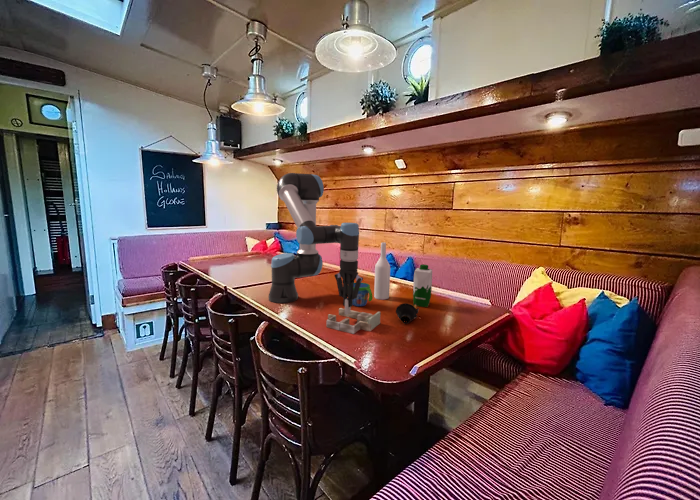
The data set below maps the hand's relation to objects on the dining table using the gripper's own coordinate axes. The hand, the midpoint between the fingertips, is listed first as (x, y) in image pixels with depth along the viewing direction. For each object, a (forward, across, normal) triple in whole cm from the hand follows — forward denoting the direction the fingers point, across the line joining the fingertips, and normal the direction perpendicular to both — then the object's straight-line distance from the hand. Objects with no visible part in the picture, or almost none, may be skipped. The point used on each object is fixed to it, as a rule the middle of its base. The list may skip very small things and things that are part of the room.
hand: (347, 313), depth 133 cm
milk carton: (+4, +21, +39) cm, 44 cm away
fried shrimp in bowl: (+3, +22, +17) cm, 28 cm away
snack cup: (+4, -6, +22) cm, 23 cm away
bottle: (+4, -1, +39) cm, 39 cm away
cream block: (+3, +8, 0) cm, 9 cm away
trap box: (+3, +3, -3) cm, 6 cm away
